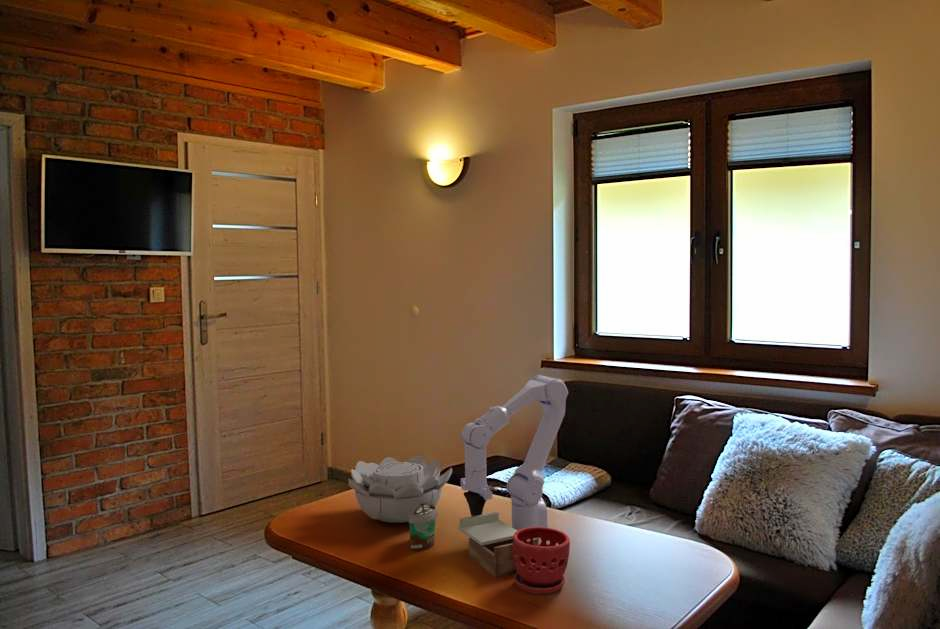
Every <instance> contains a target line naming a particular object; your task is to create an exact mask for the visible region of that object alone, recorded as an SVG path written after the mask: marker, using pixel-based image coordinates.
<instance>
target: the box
mask: <svg viewBox="0 0 940 629" xmlns="http://www.w3.org/2000/svg"><path fill="white" fill-rule="evenodd" d="M529 541H530V538H528V539H527V542H529ZM521 542H523V541H522V540H521ZM533 543H534V544H535V545H539V537H535V538H534V539H533ZM469 557H470V558H469ZM468 558H469V559H471V560H472V561H473V560H474V561H473V562H475V563H476V564H477V563H478V564H477V565H478V566H480V567H481V566H482V567H481V568H483V569H484V570H485V569H486V570H485V571H487V573H489V574H490V575H492V576H493V577H494V578H496V577H497V578H500V576H501V577H505V576H509V575H513V574H516V573H517V570H516V567H515V564H514V558H513V539H510V540H505V541H500V542H496V543H491V544H486V545H482V546H481V545H480V544H478V543H477V542H476V541H474V540H473V539H471V538H470V537H469V538H468ZM508 574H509V575H508ZM504 575H505V576H504Z"/></svg>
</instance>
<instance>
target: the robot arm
mask: <svg viewBox="0 0 940 629" xmlns="http://www.w3.org/2000/svg"><path fill="white" fill-rule="evenodd" d="M568 390H569V389H568V388H567V385H566V384H565V382H564V381H563V380H562V379H560V378H553V377H549V376H546V375H543V374H538V375H537V374H536V375H535V376H534V377H533V378H532V379H530V380H528V381H527V383H526V384H525V386H524V387H523V388H521V389H520V390H519V391H518V392H517V393H516V394H514V396H513V397H511V398H510V399H509V400H507V402H505V403H504V404H503V405H502V406H499V405H495V406H490V407H489V408H488V411H487V412H485V413H484V414H483V415H482V416H480V417H477V418H475V420H474V422H469V423H467V424H466V425H464V426H463V429H462V430H461V433H460V434H459V436H460V439H461V441H462V442H463V444H464V476H465V477H462V478H460V486H461V488H460V489H461V490H463V491H464V492H463V496H464V498H465V500H466V503H467V505H468V507H469V508H468V509H469V511H470V512H469V513H470V517H471V516H476V515H482V514H483V511H484V506H486V505H485V504H486V502H487V501H489V500H492V499H493V491H492V490H491V489H490V487H489V485H488V483H487V482H488V481H487V445H488V444H489V443H490V441H491V438H492V437H493V436H494V435H495V434H496V433H497V432H499V431H500V430H501V429H503V428H504V427H506V426H507V425H508V424H509V422H510V417H511V416H513V415H514V414H515V413H517V412H518V411H520V410H521V409H523V408H524V407H526V406H527V405H529V404H530V403H532V402H539V404H540V406H541V408H542V411H543V415H542V418H541V419H540V422H539V424H538V427H537V429H536V432H535V434H534V437H533V438H532V442H531V444H530V447H529V448H528V452H527V454H526V457H525V459H524V461H523V464H522V465H520V466H518V467H517V468H515V470H514V473H513V474H512V475H511V476H510V477H509V479H508V480H507V483H506V490H507V493H508V494H509V495H510V500H511V527H512V528H514V529H515V530H517V531H518V530H520V529H524V528H529V527H546V528H548V509H547V508H548V507H547V505H546V502H545V501H544V500H543V499H542V498H543V491H544V490H543V489H544V485H545V478H544V476H543V473H542V472H543V469H544V468H545V466H546V462H547V460H548V457H549V455H550V451H551V450H552V447H553V445H554V442H555V439H556V437H557V434H558V432H559V429H560V428H561V425H562V423H563V420H564V418H565V414H566V404H567V402H566V400H567V398H568V395H569V391H568Z"/></svg>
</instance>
